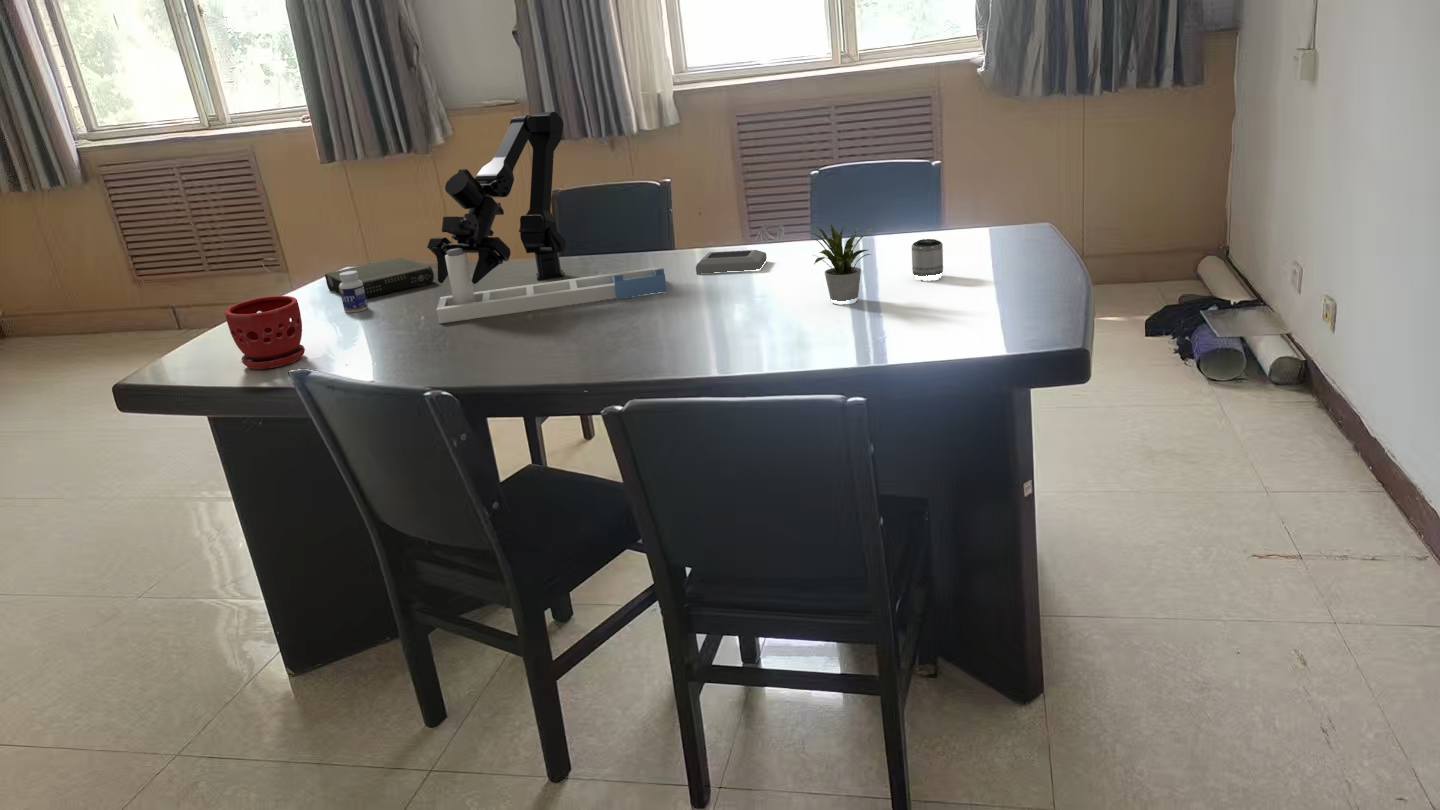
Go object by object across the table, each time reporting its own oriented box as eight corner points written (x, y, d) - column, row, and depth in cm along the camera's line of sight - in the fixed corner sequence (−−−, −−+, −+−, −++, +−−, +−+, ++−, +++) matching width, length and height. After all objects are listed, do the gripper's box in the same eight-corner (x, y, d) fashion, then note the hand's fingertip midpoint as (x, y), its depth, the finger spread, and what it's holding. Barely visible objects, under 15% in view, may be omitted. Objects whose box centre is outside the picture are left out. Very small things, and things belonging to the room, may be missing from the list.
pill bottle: (339, 313, 232) (331, 275, 229) (355, 306, 237) (346, 269, 234) (358, 313, 230) (349, 275, 227) (373, 307, 235) (364, 269, 232)
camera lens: (920, 273, 214) (919, 237, 211) (948, 275, 211) (947, 238, 208) (907, 281, 210) (906, 243, 207) (935, 282, 206) (934, 244, 203)
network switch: (402, 273, 271) (398, 255, 269) (447, 282, 255) (443, 262, 253) (318, 294, 256) (314, 275, 254) (360, 305, 240) (355, 284, 238)
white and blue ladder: (443, 309, 225) (438, 287, 224) (659, 279, 232) (656, 257, 231) (438, 324, 213) (434, 300, 212) (667, 292, 220) (664, 269, 218)
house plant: (787, 306, 200) (781, 224, 194) (829, 289, 209) (824, 210, 203) (846, 314, 190) (841, 228, 185) (887, 296, 199) (884, 214, 194)
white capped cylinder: (456, 312, 222) (444, 249, 218) (477, 309, 223) (465, 246, 218) (455, 317, 218) (443, 253, 213) (476, 314, 219) (464, 250, 214)
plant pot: (225, 372, 195) (208, 313, 190) (275, 351, 206) (260, 294, 202) (277, 374, 190) (261, 313, 186) (325, 352, 201) (311, 294, 197)
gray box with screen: (758, 257, 229) (695, 260, 233) (760, 273, 231) (696, 276, 234) (765, 248, 238) (704, 251, 242) (767, 263, 239) (705, 266, 243)
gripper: (424, 201, 220) (399, 262, 214) (493, 199, 212) (469, 263, 206) (454, 229, 229) (431, 289, 224) (521, 228, 221) (499, 290, 216)
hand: (456, 282), depth 217 cm, fingers open, 9 cm apart
